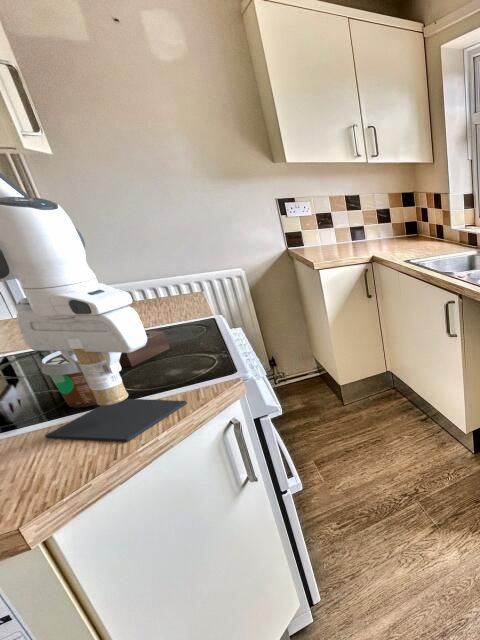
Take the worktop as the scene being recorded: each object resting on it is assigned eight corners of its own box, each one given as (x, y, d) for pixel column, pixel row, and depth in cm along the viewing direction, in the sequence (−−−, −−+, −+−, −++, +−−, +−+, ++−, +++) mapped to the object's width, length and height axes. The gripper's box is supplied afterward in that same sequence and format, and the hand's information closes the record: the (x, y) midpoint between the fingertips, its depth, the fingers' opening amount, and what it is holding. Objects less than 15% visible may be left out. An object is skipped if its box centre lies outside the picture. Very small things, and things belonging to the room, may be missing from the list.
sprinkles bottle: (113, 394, 81) (85, 329, 76) (135, 394, 81) (108, 329, 75) (90, 406, 77) (58, 338, 72) (113, 407, 76) (82, 339, 71)
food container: (63, 394, 90) (42, 351, 86) (102, 384, 93) (83, 343, 90) (56, 418, 81) (32, 371, 77) (98, 406, 85) (78, 362, 81)
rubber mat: (46, 438, 75) (44, 435, 75) (115, 400, 87) (114, 398, 87) (127, 442, 74) (126, 439, 73) (187, 403, 85) (186, 400, 85)
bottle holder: (91, 365, 103) (82, 347, 101) (132, 347, 113) (125, 330, 111) (132, 367, 102) (124, 348, 100) (170, 348, 112) (163, 331, 110)
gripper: (-10, 303, 69) (29, 378, 74) (103, 305, 67) (134, 381, 72) (34, 292, 75) (67, 362, 80) (139, 293, 73) (165, 365, 78)
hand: (100, 371), depth 76 cm, fingers closed on sprinkles bottle, 4 cm apart
